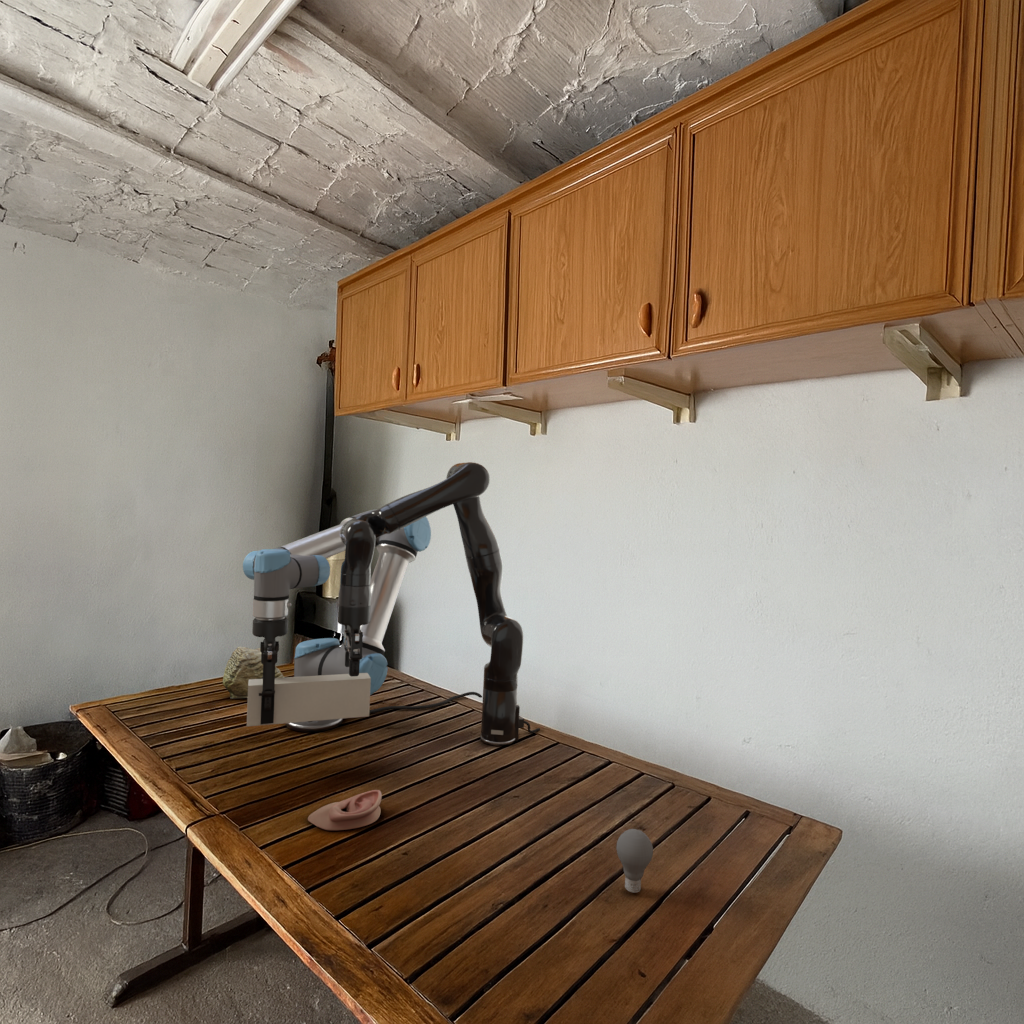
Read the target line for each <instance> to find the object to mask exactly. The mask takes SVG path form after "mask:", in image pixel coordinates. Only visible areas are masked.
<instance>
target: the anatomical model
mask: <svg viewBox="0 0 1024 1024" xmlns="http://www.w3.org/2000/svg"><path fill="white" fill-rule="evenodd" d="M382 799H383V795H382V791H381V790H380V789H372V790H368V791H365V792H362V793H358V794H355V795H353V796H351V797H349V798H346V799H343V800H341V801H336V802H331V803H327V804H325V805H323V806H321V807H319V808H318V809H316V810H315V811H313V812H311V813H310V814H309V815H308V817H307V821H308V822H309V823H311V824H313V825H314V826H316V827H317V828H320V829H322V830H325V831H344V830H345V831H347V830H352V829H353V830H354V829H359V828H362V827H365V826H368V825H371V824H373V823H375V822H376V821H378V820H379V818H380V815H381V807H380V805H381V802H382Z"/></svg>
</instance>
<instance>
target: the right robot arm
mask: <svg viewBox="0 0 1024 1024" xmlns="http://www.w3.org/2000/svg"><path fill="white" fill-rule="evenodd" d="M490 480H491V479H490V473H489V471H488V469H487V468H486V467H485V466H484V465H482V464H481V463H477V462H473V461H472V462H459V463H455V464H454V465H452V466H451V467H450V468H449V470H448V471H447V474H446V477H445V478H444V480H442V481H440V482H438V483H436V484H433V485H431V486H429V487H426V488H423V489H420V490H418V491H414V492H412V493H409V494H406V495H404V496H401V497H399V498H397V499H394V500H392V501H390V502H388V503H386V504H384V505H382V506H380V507H379V508H376V509H377V510H374V509H373V510H374V511H371V512H369V513H366V514H363V515H360V516H358V517H355V518H353V519H351V520H349V521H347V522H346V523H345V524H344V525H343V526H342V528H341V530H340V538H341V541H342V542H343V543H344V544H345V545H346V549H345V551H344V560H343V562H342V563H341V566H340V577H339V579H340V580H339V590H338V599H337V600H338V602H337V623H338V624H339V625H342V626H343V627H344V630H343V640H344V643H343V645H344V646H345V647H344V649H345V666H346V667H349V675H350V676H358V675H359V665H360V660H361V659H362V640H363V632H361V630H360V626H361V625H366V624H368V623H369V622H370V608H371V588H370V583H371V578H372V564H373V563H372V562H373V558H374V553H375V548H376V547H375V539H376V538H378V537H380V536H382V535H385V534H391V533H394V532H396V531H398V530H400V529H402V528H404V527H406V526H408V525H410V524H412V523H414V522H416V521H418V520H420V519H422V518H424V517H428V516H430V515H432V514H434V513H435V512H438V511H440V510H442V509H445V508H447V507H450V506H453V508H454V511H455V515H456V518H457V523H458V526H459V532H460V537H461V542H462V545H463V551H464V556H465V560H466V564H467V568H468V573H469V576H470V580H471V585H472V589H473V592H474V597H475V600H476V604H477V612H478V619H479V629H480V635H481V639H482V640H483V641H484V643H485V644H486V645H487V646H488V647H490V648H491V649H490V660H489V662H487V663H485V665H484V666H483V683H482V702H481V703H482V704H481V705H482V707H481V725H480V726H481V727H480V728H481V730H480V741H481V742H482V743H484V744H486V745H489V746H495V747H502V746H503V747H504V746H510V745H512V744H514V743H515V742H519V734H520V733H519V731H520V730H519V729H524V728H525V725H526V726H527V732H528V733H529V734H534V733H537V732H539V731H541V728H540V727H538V728H535V729H533V730H531V724H530V723H529V722H528V721H526V720H525V718H523V717H522V716H521V715H520V711H521V709H520V708H521V707H520V706H521V705H519V704H518V686H519V671H520V669H521V666H522V661H523V650H524V630H523V627H522V625H521V623H520V622H519V621H518V620H516V619H515V618H512V617H509V616H508V614H507V611H506V608H505V605H504V601H503V596H502V583H503V577H504V561H503V559H502V558H503V557H502V554H501V550H500V545H499V542H498V539H497V537H496V534H495V533H494V531H493V529H492V528H491V526H490V524H489V522H488V520H487V518H486V516H485V514H484V511H483V508H482V503H481V497H480V496H482V495H484V494H485V493H486V491H487V490H488V488H489V485H490V482H491V481H490ZM355 651H357V652H358V654H355Z"/></svg>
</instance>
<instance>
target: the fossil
mask: <svg viewBox="0 0 1024 1024" xmlns="http://www.w3.org/2000/svg"><path fill="white" fill-rule="evenodd" d="M222 676H223V677H222V685H223V687H224V688H225V690H226V691H228V693H229V698H230V699H248V682H249V680H250V679H262V677H263V664H262V663H261V651H260V647H258V648H251V647H247V646H246V647H245V646H238V647H237V648H236V649H235V650H233V651H232V653H231V656H230V657H229V659H228V660H227V663H226V666H225V668H224V671H223V675H222ZM275 678H285V676H284V674H283V673H282V672H281V669H279V668H278V667H277V665H276V664H275Z"/></svg>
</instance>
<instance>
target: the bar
mask: <svg viewBox="0 0 1024 1024" xmlns="http://www.w3.org/2000/svg"><path fill="white" fill-rule="evenodd" d="M284 677H285V676H284ZM370 685H371V678H370V676H369V674H368V673H359V675H358V676H350V675H349V674H336V675H319V676H302V677H294V676H288V677H287V676H286V677H285V678H275V687H274V690H275V695H274V722H273V723H271V724H261V697H262V696H259V693H262V690H263V679H250V680H249V682H248V698H247V705H246V706H247V707H246V727H257V726H258V727H259V726H269V725H282V724H286V723H295V722H307V721H320V720H332V719H343V720H344V719H354V718H366V717H368V718H369V717H370V714H369V710H371V709H370V708H371V706H370V705H371V695H370Z"/></svg>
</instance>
